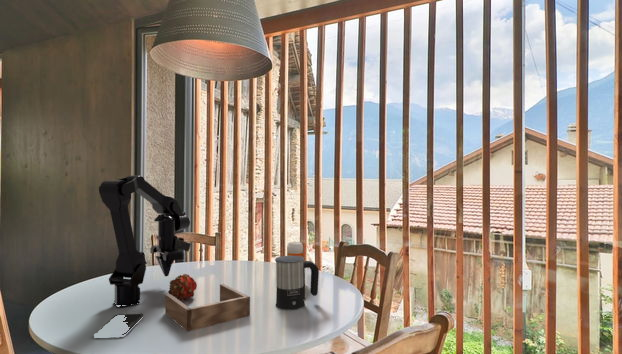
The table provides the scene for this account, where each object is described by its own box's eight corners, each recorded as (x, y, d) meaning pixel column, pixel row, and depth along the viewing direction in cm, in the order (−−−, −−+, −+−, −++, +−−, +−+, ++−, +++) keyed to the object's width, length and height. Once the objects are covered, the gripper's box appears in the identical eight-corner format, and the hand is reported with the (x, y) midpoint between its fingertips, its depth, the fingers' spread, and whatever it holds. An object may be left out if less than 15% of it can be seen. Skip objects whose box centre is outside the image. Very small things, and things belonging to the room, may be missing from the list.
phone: (91, 335, 95) (116, 314, 110) (91, 340, 95) (116, 318, 110) (124, 334, 96) (144, 313, 111) (124, 339, 96) (144, 317, 111)
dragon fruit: (177, 309, 121) (182, 303, 133) (200, 292, 123) (203, 287, 135) (160, 288, 121) (167, 283, 133) (184, 270, 123) (189, 267, 135)
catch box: (187, 331, 100) (187, 310, 100) (165, 313, 114) (165, 294, 114) (249, 315, 112) (250, 296, 112) (223, 300, 125) (223, 283, 125)
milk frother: (285, 313, 114) (285, 262, 114) (259, 299, 127) (259, 254, 127) (323, 303, 123) (323, 256, 123) (295, 291, 135) (295, 249, 135)
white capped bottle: (302, 285, 144) (302, 244, 144) (286, 285, 144) (286, 244, 144) (303, 280, 150) (303, 241, 150) (287, 280, 150) (287, 241, 150)
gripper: (198, 234, 138) (198, 277, 138) (179, 228, 153) (179, 268, 153) (166, 236, 131) (166, 283, 131) (150, 230, 146) (149, 272, 146)
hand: (166, 276), depth 140 cm, fingers closed
